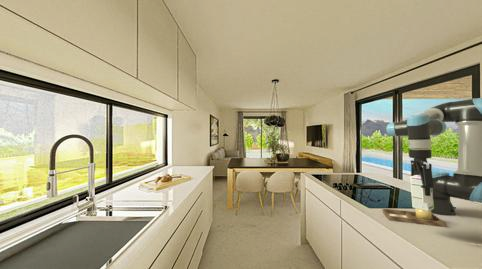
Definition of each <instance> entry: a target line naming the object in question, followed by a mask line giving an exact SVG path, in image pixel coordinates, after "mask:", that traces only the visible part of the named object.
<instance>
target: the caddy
mask: <svg viewBox="0 0 482 269" xmlns="http://www.w3.org/2000/svg"><path fill="white" fill-rule="evenodd" d="M381 211H382V214H383V215H384V216H385V218H387V220H388V221H391V222H398V223H406V224H407V223H408V224H414V225H415V224H416V225H421V226H422V225H424V226H429V227H431V226H432V227H438V228H439V227H440V228H446V222H444V221H443V219H440V218H439V217H438V216H436V214H432V213H431V214H432V220H423V219H416V211H410V210H402V209H401V210H400V209H390V208H382V210H381Z"/></svg>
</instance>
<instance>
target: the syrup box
mask: <svg viewBox="0 0 482 269" xmlns="http://www.w3.org/2000/svg"><path fill="white" fill-rule="evenodd" d="M409 180H410V192H411V205H412V206H411V207H412V208H413V209H415V208H416V209H420V210H424V211H430V210H432V209H434V200H433V188H431V202H432V203H423V201H422V188H421V186H423V185H422V181H421V176H420V175H414V176H411V175H410V177H409ZM416 209H415V210H416Z"/></svg>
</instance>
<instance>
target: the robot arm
mask: <svg viewBox="0 0 482 269" xmlns="http://www.w3.org/2000/svg"><path fill="white" fill-rule="evenodd" d="M446 123H454V124H455V125H456V126H457V127H458V150H457V151H458V152H457V154H458V155H457V170H456V171H454V172H453V175H450V172H447V171H444V172H443V171H440V172H439V171H432V164H431V163H429V162H428V159H431V158H433V157H432V156H433V155H432V150H431V149H432V139H431V136H434V137H435V136H438V135H442V134H443V133H445V132H446V131H447V124H446ZM385 131H386V134H387V135H388V136H390V137H397V138H398V137H407V142H406V144H407V145H408V157H409V158H410V159H411V160H410V176H414V175H420V176H421V181H422V185H423V186H421V188H422V201H423V203H432V202H431V188H433V200H434V209H432V210H431V214H433V215H439V216H447V217H450V216H451V217H452V216H456V213H457V212H456V209H455V207H454V205H453V203H452V200H451V198H453V199H460V200H464V201H469V202H476V203H482V97H479V98H470V99H463V100H456V101H448V102H444V103H440V104H438V105H437V104H436V105H435V106H433V107H430V108H427V109H426V110H424V112H421V113H419V114H415V115H408V116H407V118H405V119H404V120H401V121H398V122H397V121H396V122H389V123H388V124H387V125H386V128H385Z"/></svg>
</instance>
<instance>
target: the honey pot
mask: <svg viewBox="0 0 482 269" xmlns="http://www.w3.org/2000/svg"><path fill="white" fill-rule="evenodd" d="M414 209H415V212H416V219H423V220H432V213H431V210H430V211H424V210H420V209H416V208H414Z"/></svg>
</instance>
